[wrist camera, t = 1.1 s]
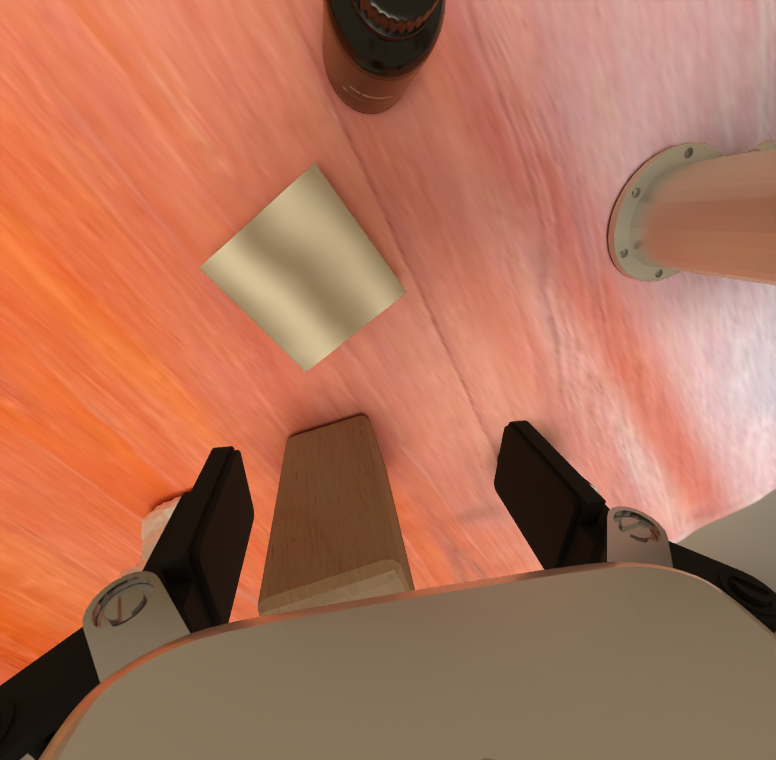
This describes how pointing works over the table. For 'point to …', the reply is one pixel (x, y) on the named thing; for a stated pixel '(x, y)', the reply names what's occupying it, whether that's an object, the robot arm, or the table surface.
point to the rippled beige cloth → (305, 271)
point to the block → (333, 523)
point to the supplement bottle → (377, 47)
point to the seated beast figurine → (152, 532)
